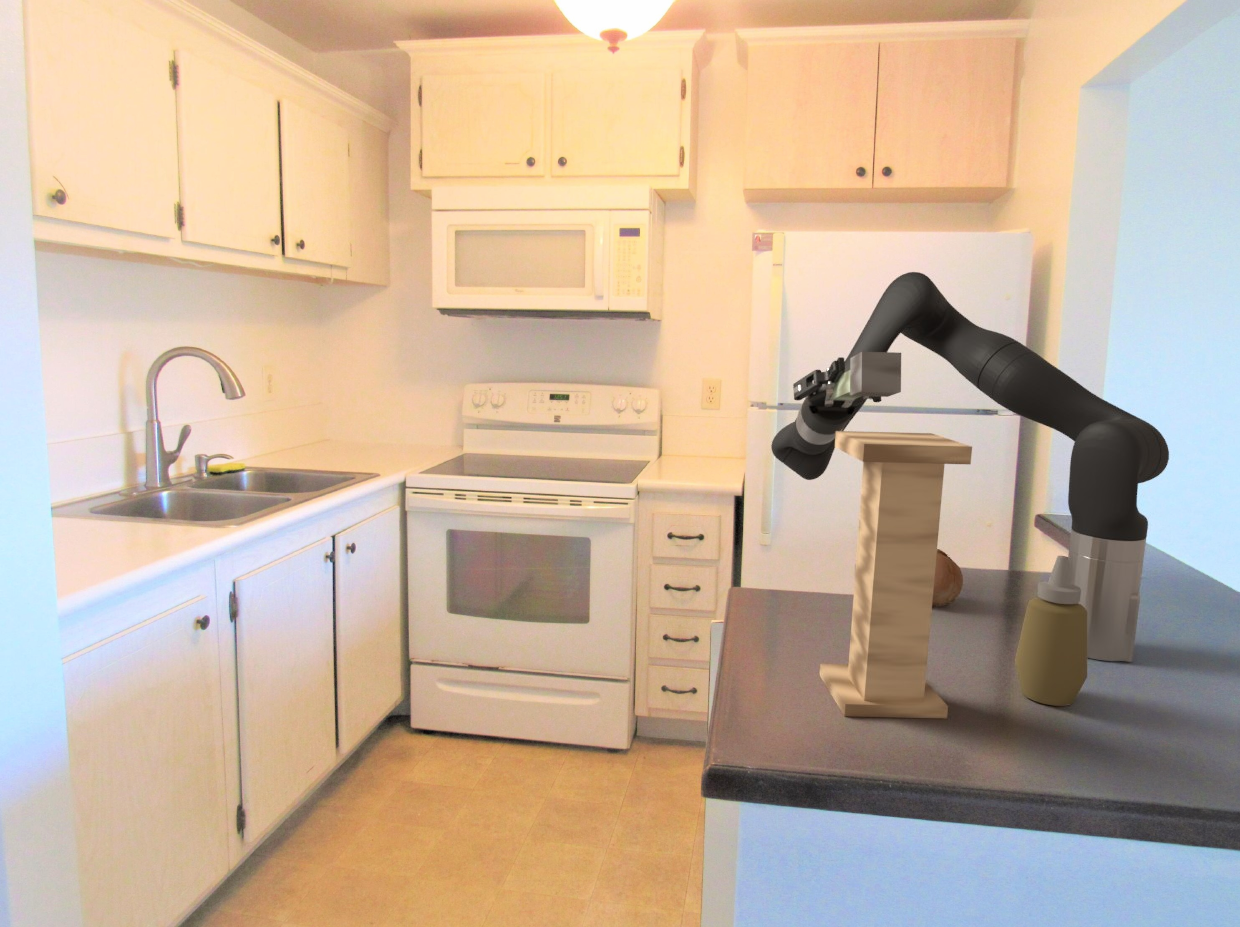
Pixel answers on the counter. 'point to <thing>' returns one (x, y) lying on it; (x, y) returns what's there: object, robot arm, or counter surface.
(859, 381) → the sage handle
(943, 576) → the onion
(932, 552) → the stand
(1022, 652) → the squeeze bottle
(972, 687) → the counter surface
